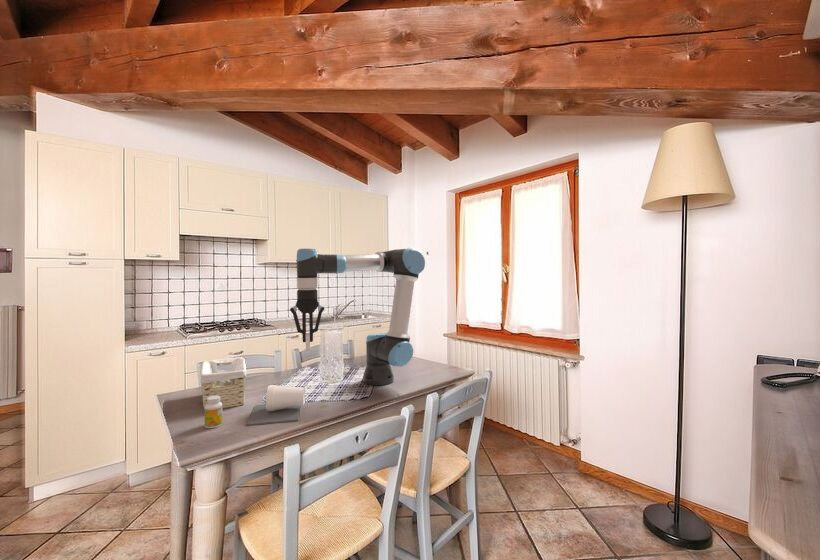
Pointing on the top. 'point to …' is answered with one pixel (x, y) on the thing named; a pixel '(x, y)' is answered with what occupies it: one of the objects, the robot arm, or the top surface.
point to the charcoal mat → (273, 415)
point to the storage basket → (224, 381)
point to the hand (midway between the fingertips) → (307, 350)
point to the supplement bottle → (213, 412)
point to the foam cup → (284, 397)
